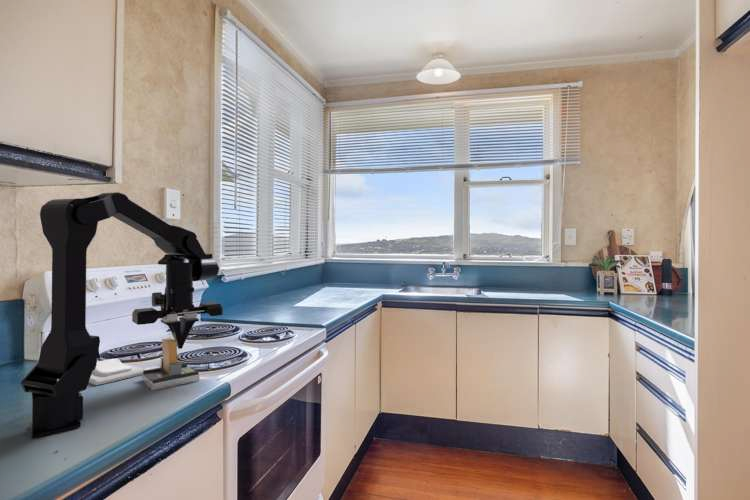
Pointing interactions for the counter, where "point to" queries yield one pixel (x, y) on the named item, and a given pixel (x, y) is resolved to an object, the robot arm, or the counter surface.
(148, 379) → the toggle switch base
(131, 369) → the light switch
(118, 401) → the counter surface
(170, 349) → the lever
